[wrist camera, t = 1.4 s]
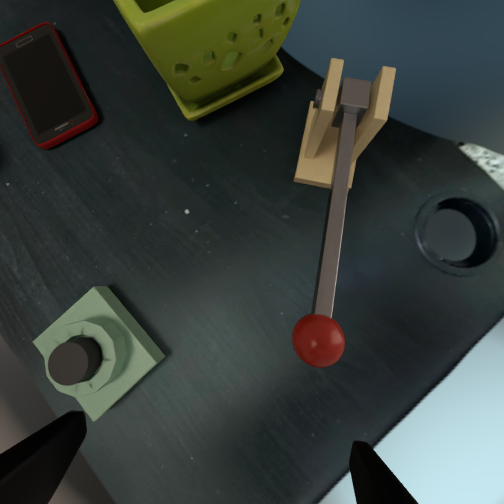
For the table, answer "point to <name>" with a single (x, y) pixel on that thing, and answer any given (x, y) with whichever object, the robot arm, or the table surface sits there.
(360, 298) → the table surface
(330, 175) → the switch bracket
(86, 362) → the push button
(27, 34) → the cell phone
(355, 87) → the switch lever
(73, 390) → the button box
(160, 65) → the flower pot
